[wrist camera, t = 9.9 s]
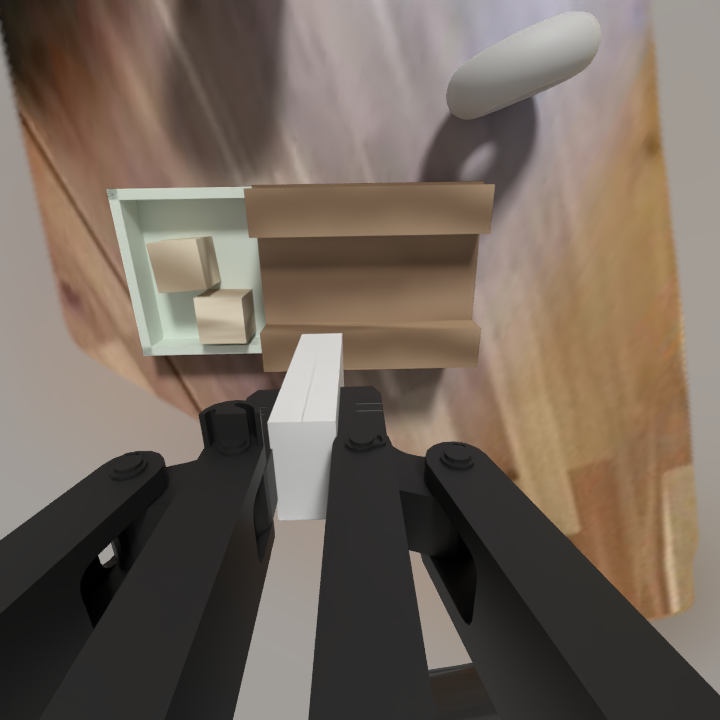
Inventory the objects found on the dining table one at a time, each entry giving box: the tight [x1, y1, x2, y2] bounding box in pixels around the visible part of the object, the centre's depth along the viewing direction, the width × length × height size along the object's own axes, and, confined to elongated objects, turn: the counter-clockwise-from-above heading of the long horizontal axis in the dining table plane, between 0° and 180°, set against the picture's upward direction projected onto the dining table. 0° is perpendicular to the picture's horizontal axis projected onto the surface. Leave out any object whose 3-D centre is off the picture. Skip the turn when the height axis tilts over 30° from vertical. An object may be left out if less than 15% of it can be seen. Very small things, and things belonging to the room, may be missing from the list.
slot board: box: [243, 181, 495, 372], centre depth 33 cm, size 14×17×8 cm
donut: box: [446, 12, 601, 120], centre depth 28 cm, size 10×4×10 cm, turn 110°
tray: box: [106, 187, 266, 356], centre depth 36 cm, size 14×12×3 cm
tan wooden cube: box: [146, 236, 221, 293], centre depth 34 cm, size 4×4×4 cm
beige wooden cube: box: [193, 289, 256, 344], centre depth 36 cm, size 4×4×4 cm
